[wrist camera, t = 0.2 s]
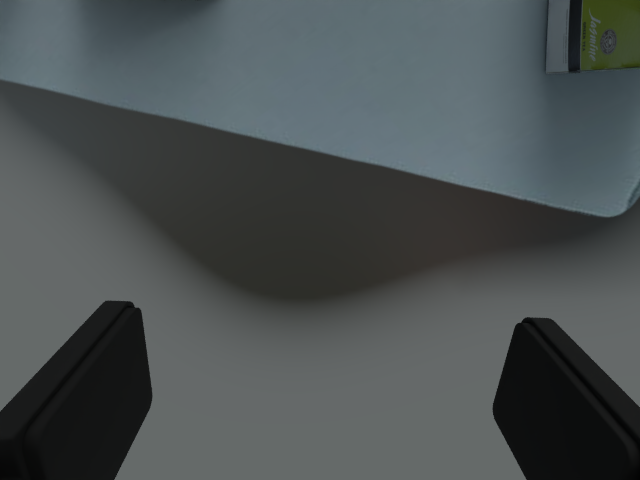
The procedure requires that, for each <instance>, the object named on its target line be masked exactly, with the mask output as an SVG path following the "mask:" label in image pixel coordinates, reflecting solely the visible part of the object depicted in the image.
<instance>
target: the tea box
mask: <svg viewBox="0 0 640 480" xmlns="http://www.w3.org/2000/svg"><path fill="white" fill-rule="evenodd" d="M627 69H640V0H549V10H548V32H547V55H546V74H561V73H580V72H595V71H611V70H627Z"/></svg>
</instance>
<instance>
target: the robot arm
mask: <svg viewBox="0 0 640 480" xmlns="http://www.w3.org/2000/svg"><path fill="white" fill-rule="evenodd" d="M151 401H152V387H151V380H150V372H149V365H148V357H147V350H146V342H145V335H144V327H143V320H142V313H141V310H140V309H139V308H135V307H134V304H133V303H132V302H128V301H105V302H104V303H103V304H102V305H101V306H100V307H99V308H98V309H97V310H96V311H95V312H94V313H93V314H92V315H91V316H90V317H89V318H88V319H87V321H85V323H84V324H83V325H82V326H81V327H80V328H79V329H78V330H77V331H76V332H75V333H74V334H73V335H72V336H71V337H70V338H69V340H68V341H67V342H66V343H65V344H64V345H63V346H62V347H61V348H60V349H59V350H58V351H57V352H56V353H55V354H54V355H53V356H52V358H51V359H50V360H49V361H48V362H47V363H46V364H45V365H44V366H43V367H42V368H41V369H40V370H39V371H38V373H36V374H35V375H34V377H33V378H32V379H31V380H30V381H29V382H28V383H27V384H26V385H25V386H24V387H23V388H22V389H21V391H19V392H18V393H17V394H16V396H15V397H14V398H13V399H12V400H11V401H10V402H9V403H8V404H7V405H6V406H5V407H4V408H3V409H2V410H1V412H0V480H114V479H115V477H116V475H117V473H118V471H119V469H120V467H121V465H122V463H123V461H124V459H125V457H126V455H127V453H128V451H129V449H130V447H131V445H132V443H133V441H134V439H135V437H136V435H137V433H138V431H139V429H140V427H141V425H142V423H143V421H144V419H145V417H146V415H147V413H148V411H149V409H150V406H151ZM493 415H494V419H495V421H496V423H497V425H498V426H499V429H500V430H501V432H502V434H503V436H504V438H505V440H506V442H507V444H508V445H509V447H510V449H511V451H512V453H513V455H514V457H515V459H516V460H517V462H518V464H519V466H520V468H521V470H522V472H523V474H524V476H525V477H526V479H527V480H640V407H639V406H638V405H637V404H636V403H635V402H634V401H633V400H632V399H631V398H630V397H629V396H628V395H627V394H626V393H625V392H624V391H623V390H622V389H621V388H620V387H619V386H618V385H617V384H616V383H615V382H614V381H613V380H612V379H611V378H610V377H609V376H608V375H607V374H606V373H605V372H604V371H603V370H602V369H601V368H600V367H599V366H598V365H597V364H596V363H595V362H594V361H593V360H592V359H591V358H590V357H589V356H588V355H587V354H586V353H585V352H584V351H583V350H582V349H581V348H580V347H579V346H578V345H577V344H576V343H575V342H574V341H573V340H572V339H571V338H570V337H569V336H568V335H567V334H566V333H565V332H564V331H563V330H562V329H561V328H560V327H559V326H558V325H557V324H556V323H555V322H554V321H553V320H552V319H549V318H530V317H527V318H525V319H523V321H522V322H521V323H518V324H517V325H516V326H515V329H514V332H513V335H512V339H511V343H510V346H509V350H508V353H507V357H506V360H505V364H504V367H503V371H502V375H501V378H500V381H499V385H498V389H497V392H496V396H495V399H494V403H493Z"/></svg>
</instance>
